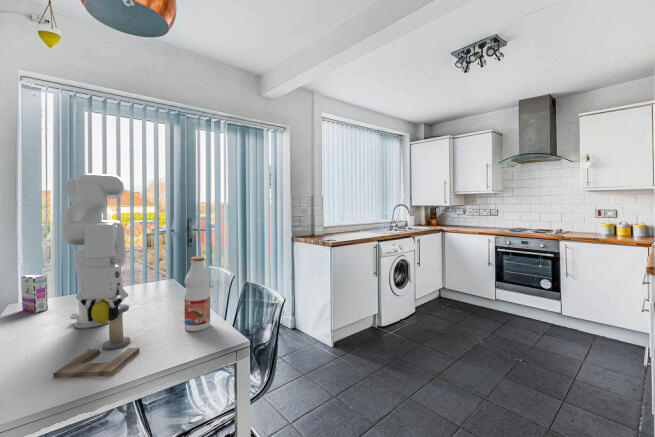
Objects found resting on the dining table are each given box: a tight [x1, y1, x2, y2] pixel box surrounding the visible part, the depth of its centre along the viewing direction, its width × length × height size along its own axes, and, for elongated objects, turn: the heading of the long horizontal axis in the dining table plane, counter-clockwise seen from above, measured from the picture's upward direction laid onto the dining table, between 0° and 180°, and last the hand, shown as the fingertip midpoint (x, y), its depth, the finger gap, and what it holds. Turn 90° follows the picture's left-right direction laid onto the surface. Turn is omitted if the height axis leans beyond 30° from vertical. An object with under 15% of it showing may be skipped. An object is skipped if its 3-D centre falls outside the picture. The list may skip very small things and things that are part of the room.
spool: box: [101, 303, 131, 351], centre depth 105 cm, size 8×8×13 cm
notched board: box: [52, 347, 140, 379], centre depth 93 cm, size 16×14×2 cm
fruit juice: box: [183, 256, 211, 332], centre depth 119 cm, size 9×9×28 cm
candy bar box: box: [20, 273, 49, 314], centre depth 140 cm, size 11×5×16 cm, turn 68°
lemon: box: [91, 299, 111, 325], centre depth 94 cm, size 6×6×8 cm
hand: (103, 318), depth 94 cm, fingers closed on lemon, 5 cm apart
